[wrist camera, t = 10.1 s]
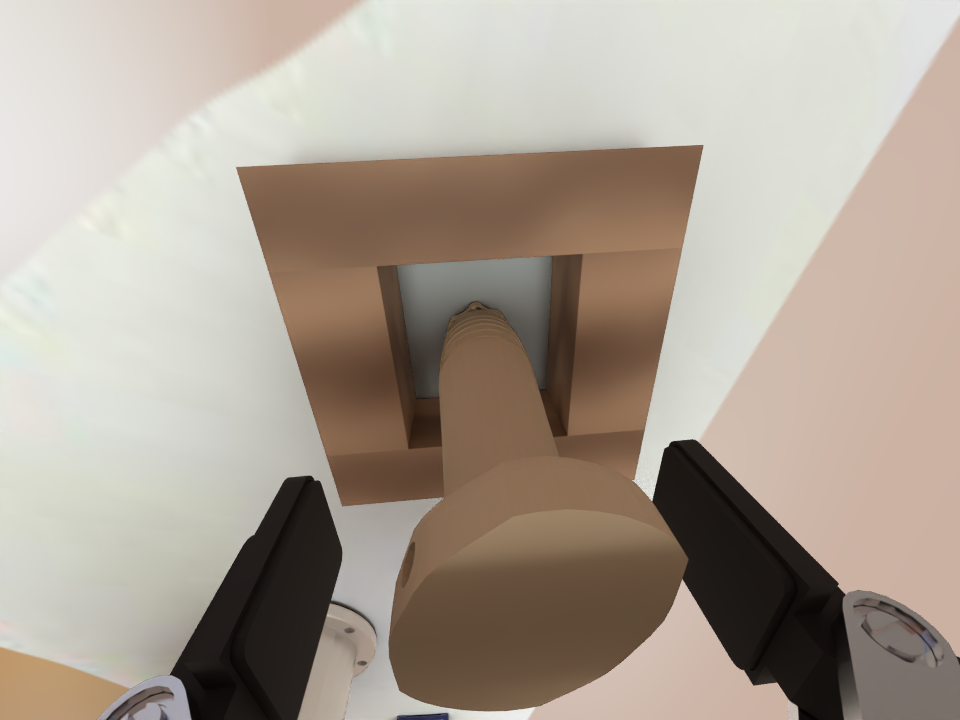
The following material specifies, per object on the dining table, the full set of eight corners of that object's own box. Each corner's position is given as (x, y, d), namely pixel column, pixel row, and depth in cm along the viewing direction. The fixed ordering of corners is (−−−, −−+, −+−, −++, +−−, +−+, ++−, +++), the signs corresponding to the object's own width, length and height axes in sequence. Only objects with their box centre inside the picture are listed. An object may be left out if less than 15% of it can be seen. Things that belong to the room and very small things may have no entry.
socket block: (603, 429, 24) (634, 479, 20) (361, 449, 23) (342, 506, 19) (642, 152, 17) (703, 145, 13) (290, 169, 16) (236, 167, 12)
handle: (541, 292, 19) (745, 548, 6) (492, 387, 22) (559, 719, 8) (458, 257, 18) (477, 477, 5) (416, 362, 21) (354, 700, 7)
